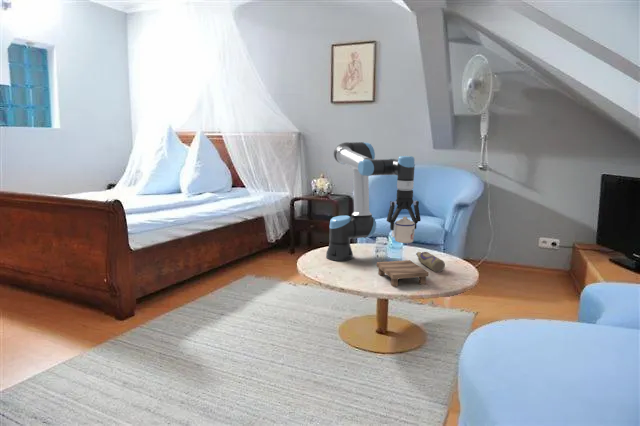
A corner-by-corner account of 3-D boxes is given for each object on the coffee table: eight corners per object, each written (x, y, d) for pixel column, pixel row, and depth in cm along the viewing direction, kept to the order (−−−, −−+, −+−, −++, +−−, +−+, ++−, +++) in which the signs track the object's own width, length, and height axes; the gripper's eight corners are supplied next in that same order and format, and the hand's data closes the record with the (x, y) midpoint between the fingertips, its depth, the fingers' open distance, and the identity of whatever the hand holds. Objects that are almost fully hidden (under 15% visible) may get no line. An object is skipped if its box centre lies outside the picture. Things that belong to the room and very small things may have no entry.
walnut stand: (376, 273, 216) (376, 262, 215) (409, 271, 221) (409, 260, 220) (392, 287, 197) (392, 274, 196) (427, 284, 202) (428, 272, 201)
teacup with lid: (415, 243, 199) (416, 219, 197) (395, 243, 200) (396, 218, 198) (411, 237, 211) (412, 214, 209) (392, 237, 212) (393, 213, 210)
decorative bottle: (445, 272, 221) (446, 259, 219) (431, 273, 219) (432, 260, 218) (423, 258, 246) (424, 246, 244) (411, 258, 244) (411, 247, 243)
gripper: (386, 190, 195) (384, 239, 199) (430, 189, 200) (427, 237, 204) (380, 188, 202) (378, 235, 206) (422, 187, 207) (420, 233, 211)
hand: (402, 236), depth 205 cm, fingers closed on teacup with lid, 9 cm apart
